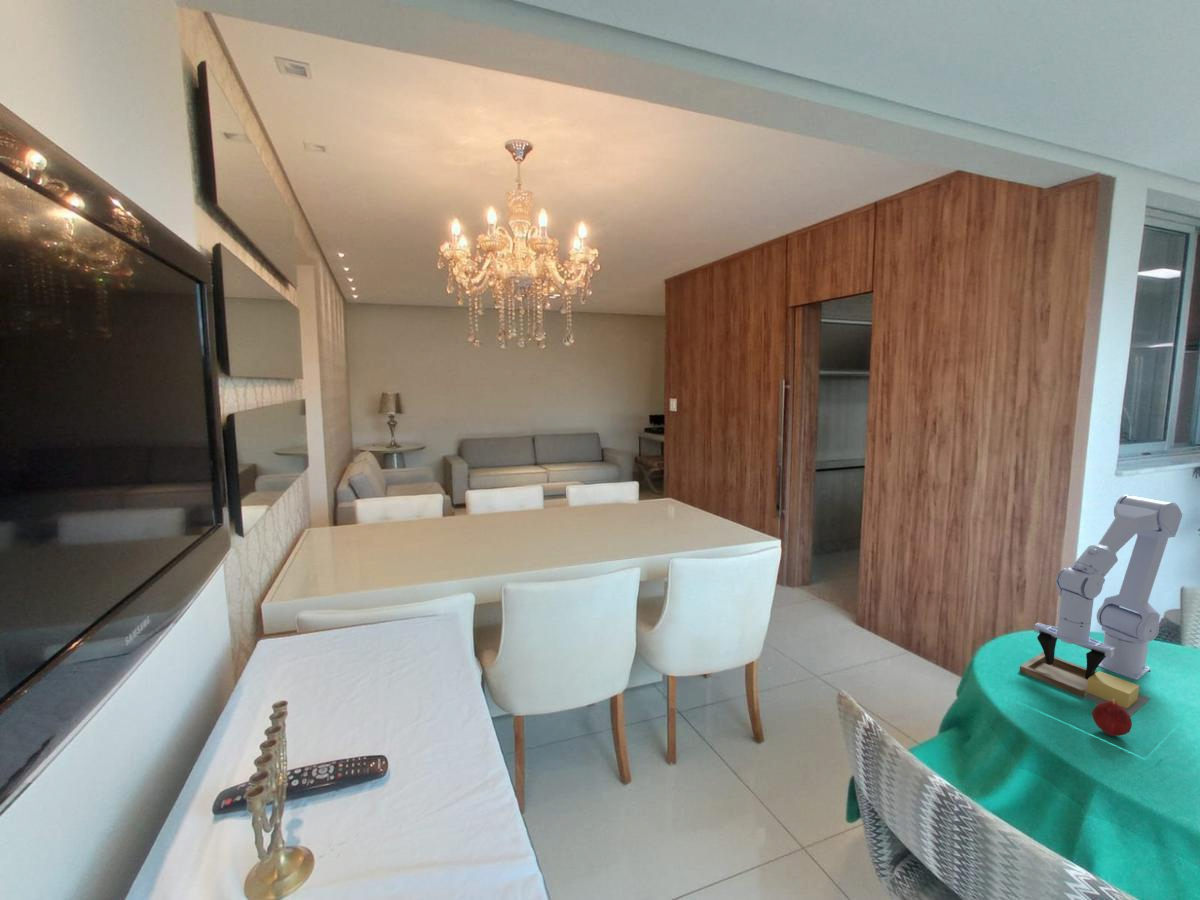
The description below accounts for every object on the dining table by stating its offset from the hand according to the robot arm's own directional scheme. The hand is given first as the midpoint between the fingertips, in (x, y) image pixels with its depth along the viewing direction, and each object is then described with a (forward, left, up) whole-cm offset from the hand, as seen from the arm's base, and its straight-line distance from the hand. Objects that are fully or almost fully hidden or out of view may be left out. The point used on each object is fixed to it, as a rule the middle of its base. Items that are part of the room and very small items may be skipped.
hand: (1068, 670), depth 126 cm
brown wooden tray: (0, -1, -2) cm, 3 cm away
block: (0, +8, -2) cm, 8 cm away
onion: (+17, +13, -3) cm, 21 cm away
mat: (0, +9, -2) cm, 9 cm away
